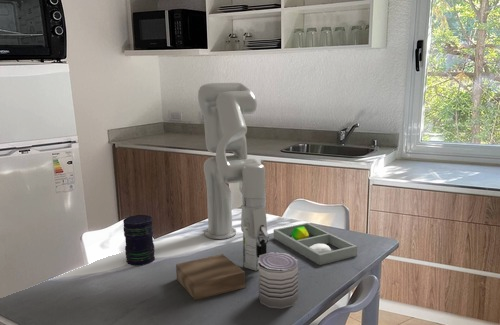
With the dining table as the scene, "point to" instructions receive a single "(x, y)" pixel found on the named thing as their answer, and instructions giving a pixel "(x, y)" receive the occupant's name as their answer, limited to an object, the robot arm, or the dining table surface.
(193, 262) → the base block
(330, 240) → the fruit tray
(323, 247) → the garlic
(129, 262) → the storage jar
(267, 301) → the can
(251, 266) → the syrup box
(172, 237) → the dining table surface
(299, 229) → the apple
